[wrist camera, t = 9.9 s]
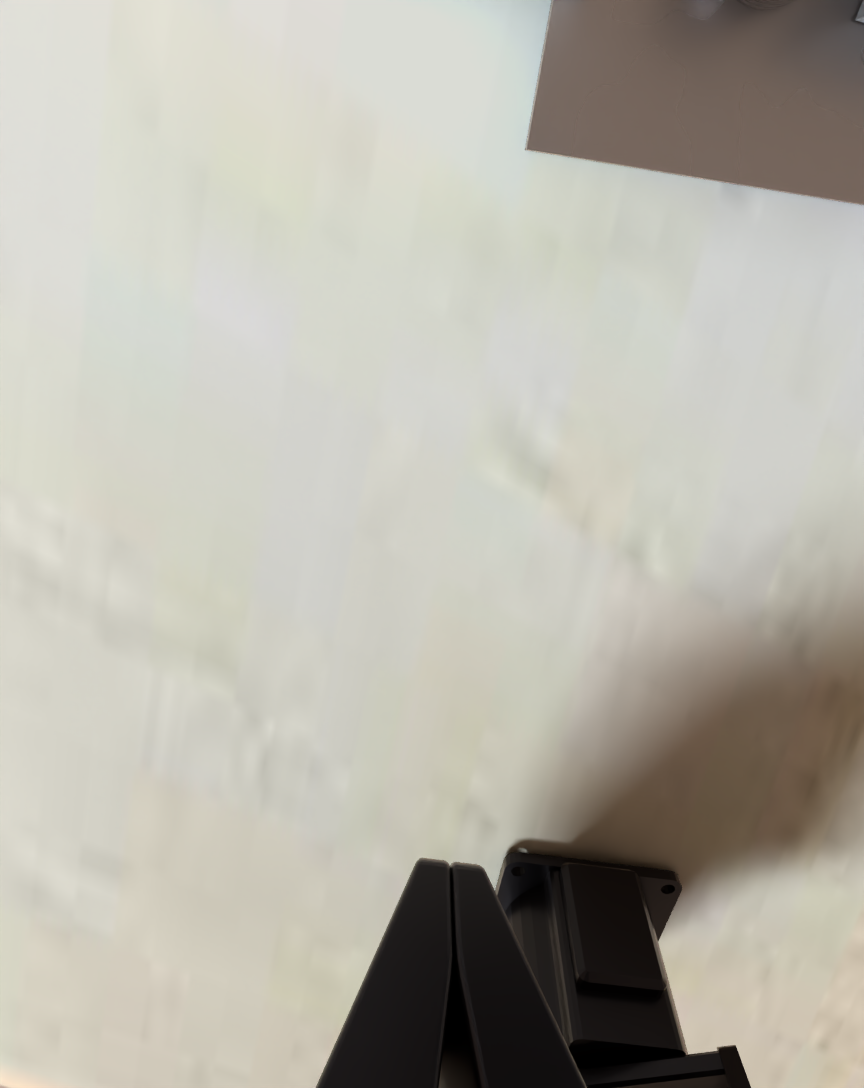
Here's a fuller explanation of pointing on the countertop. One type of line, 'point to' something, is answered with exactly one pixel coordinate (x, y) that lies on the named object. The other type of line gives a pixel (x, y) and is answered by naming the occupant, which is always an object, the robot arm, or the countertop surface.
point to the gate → (861, 13)
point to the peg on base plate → (708, 91)
